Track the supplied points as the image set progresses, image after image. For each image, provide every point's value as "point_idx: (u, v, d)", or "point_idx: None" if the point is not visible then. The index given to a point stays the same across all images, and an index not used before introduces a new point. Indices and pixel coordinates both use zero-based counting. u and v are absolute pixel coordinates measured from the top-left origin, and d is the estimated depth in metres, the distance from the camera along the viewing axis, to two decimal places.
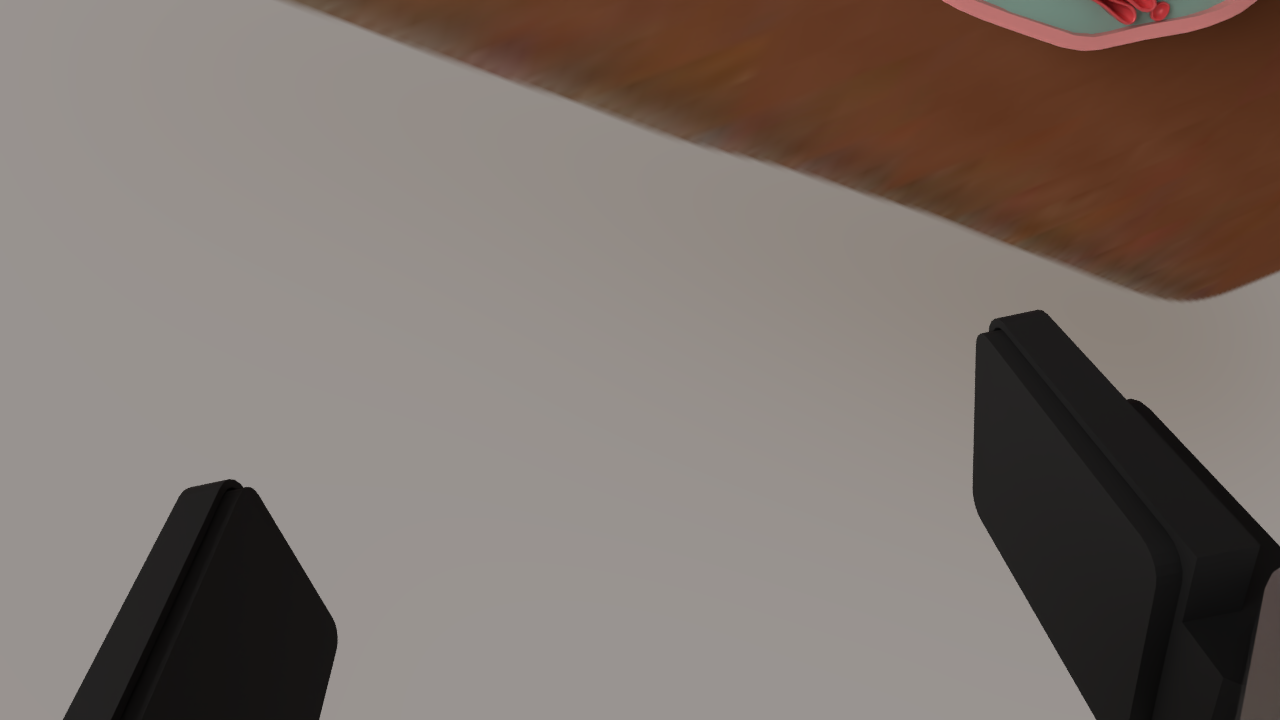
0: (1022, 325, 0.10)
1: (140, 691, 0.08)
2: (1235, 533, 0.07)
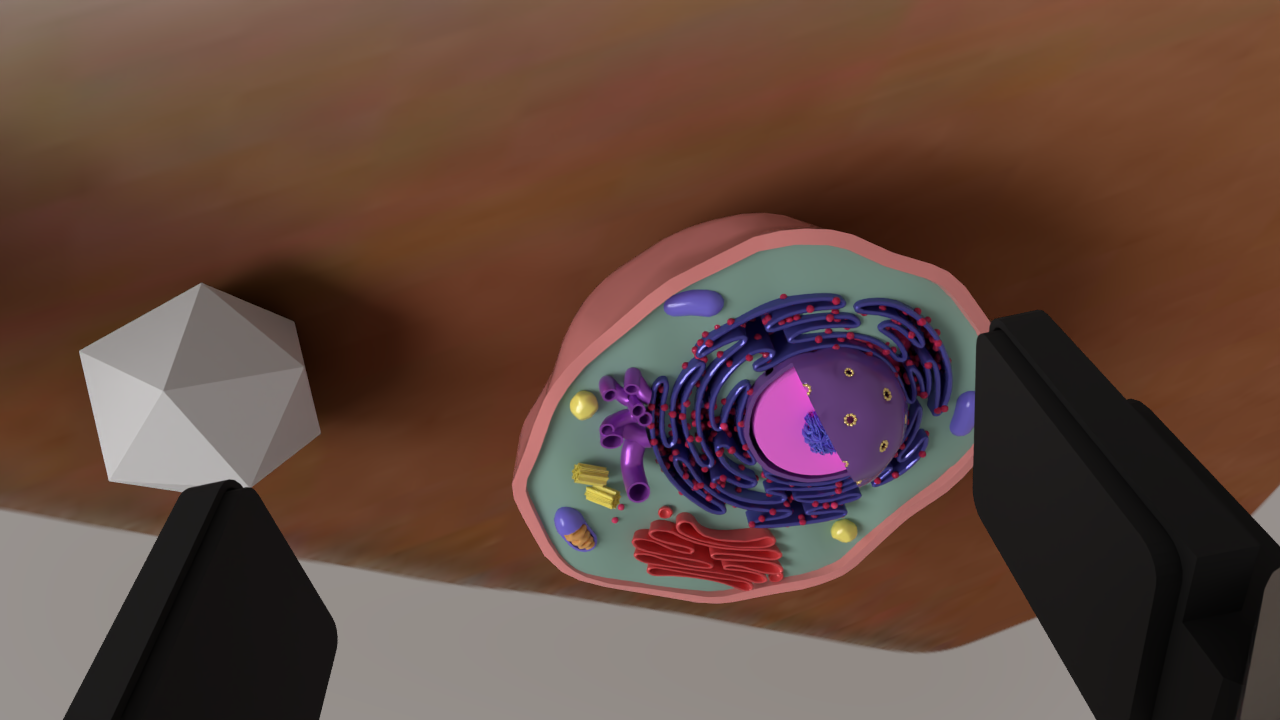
0: (1022, 325, 0.10)
1: (139, 691, 0.08)
2: (1235, 533, 0.07)
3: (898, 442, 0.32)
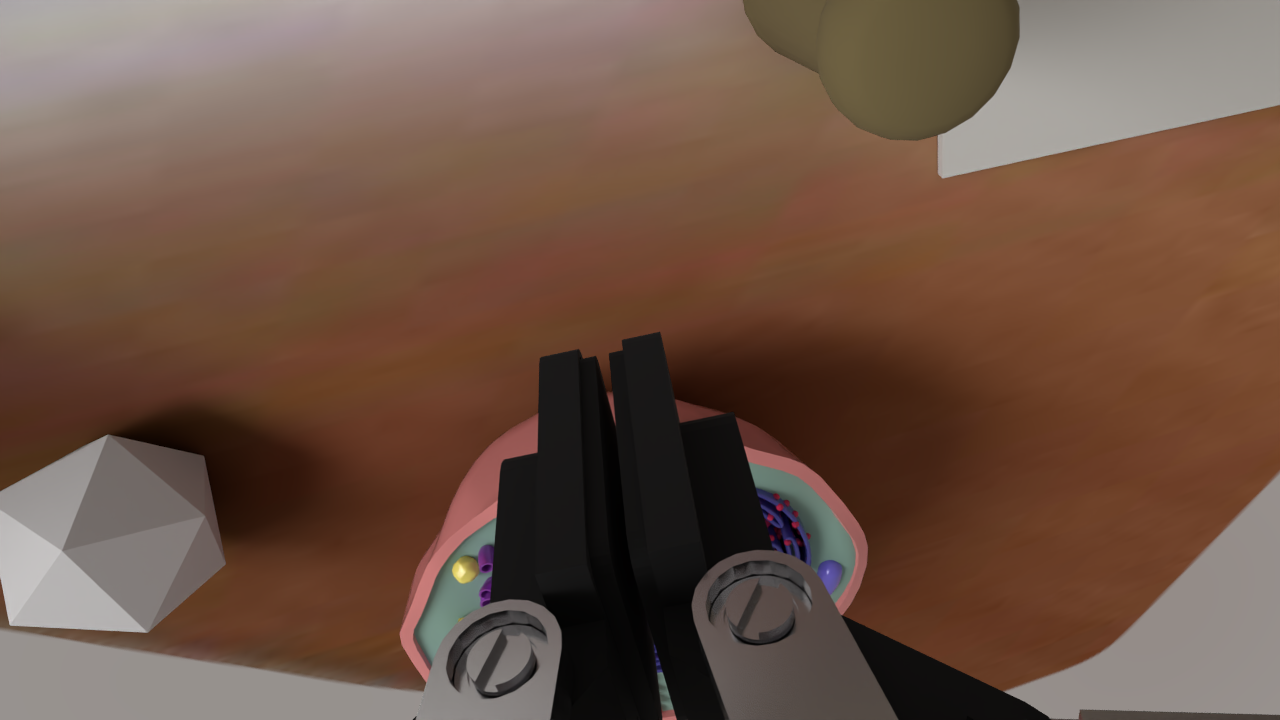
0: (635, 346, 0.11)
1: (593, 505, 0.09)
2: (688, 532, 0.08)
3: None
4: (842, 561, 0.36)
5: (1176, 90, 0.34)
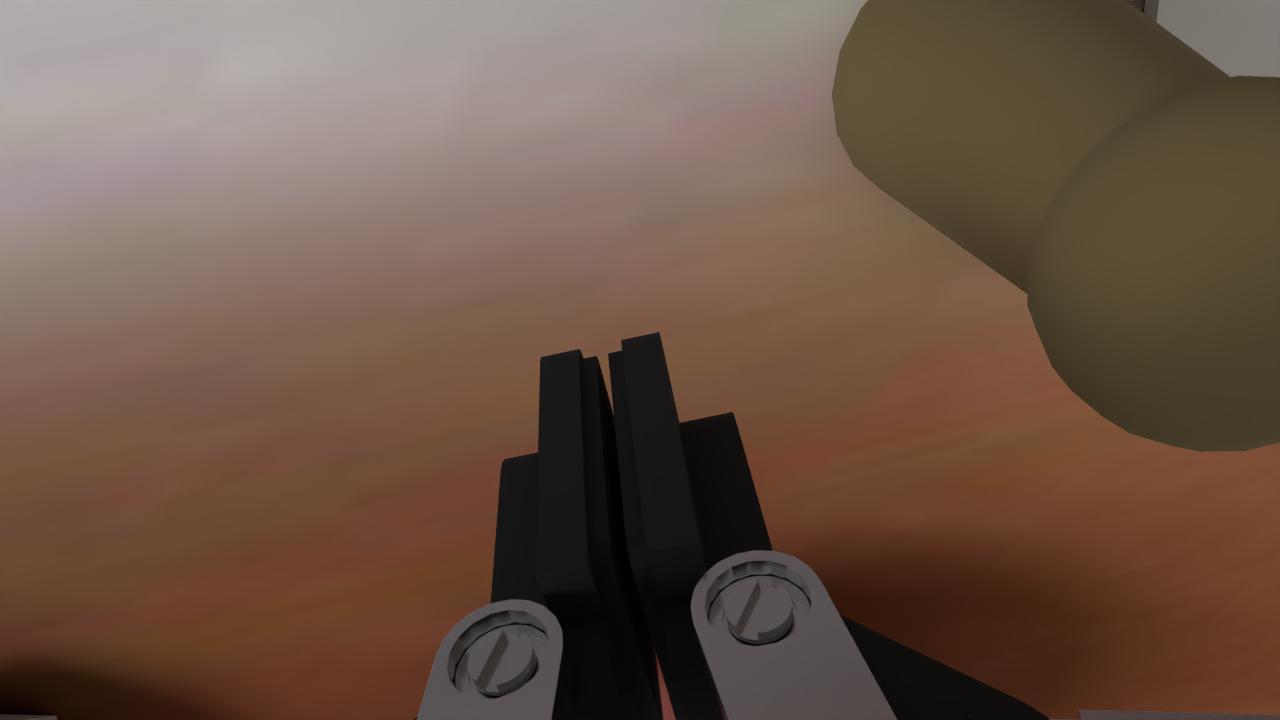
0: (635, 346, 0.11)
1: (594, 505, 0.09)
2: (687, 531, 0.08)
3: None
4: None
5: None
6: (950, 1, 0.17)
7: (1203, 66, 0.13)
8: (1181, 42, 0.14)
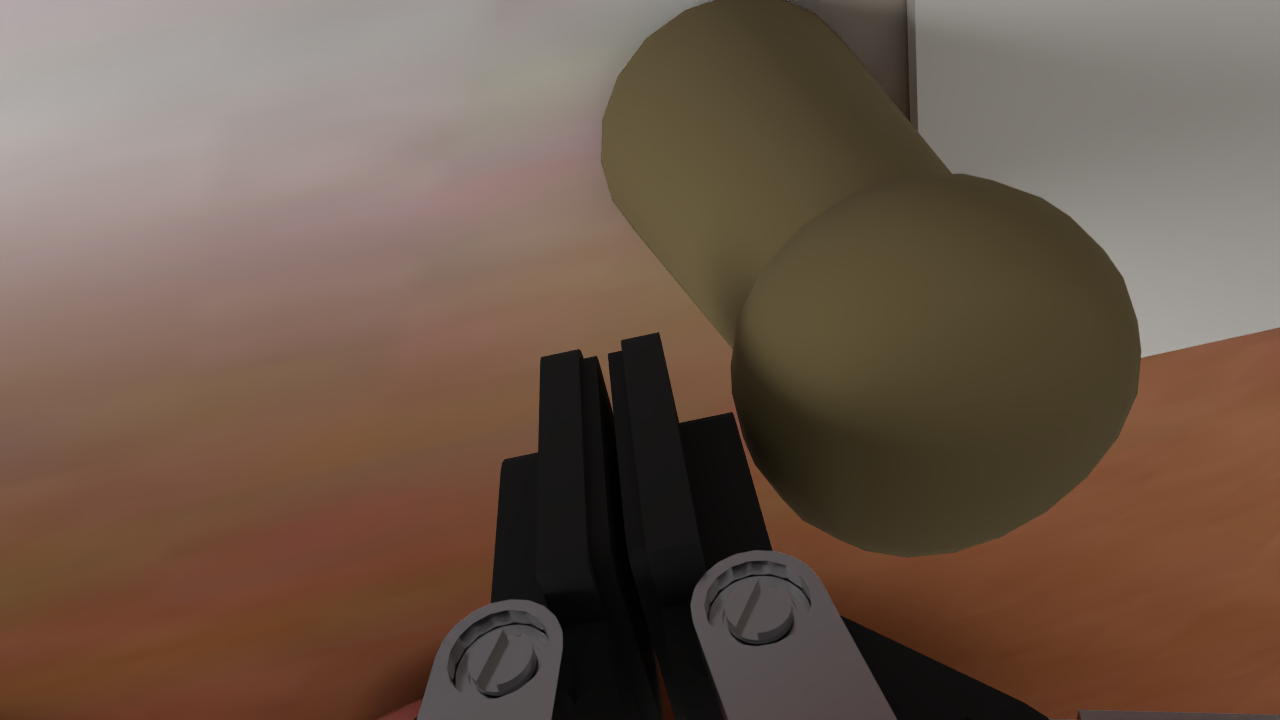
0: (634, 346, 0.11)
1: (594, 505, 0.09)
2: (686, 531, 0.08)
3: None
4: None
5: (1274, 282, 0.23)
6: (687, 74, 0.16)
7: (901, 152, 0.13)
8: (896, 120, 0.14)
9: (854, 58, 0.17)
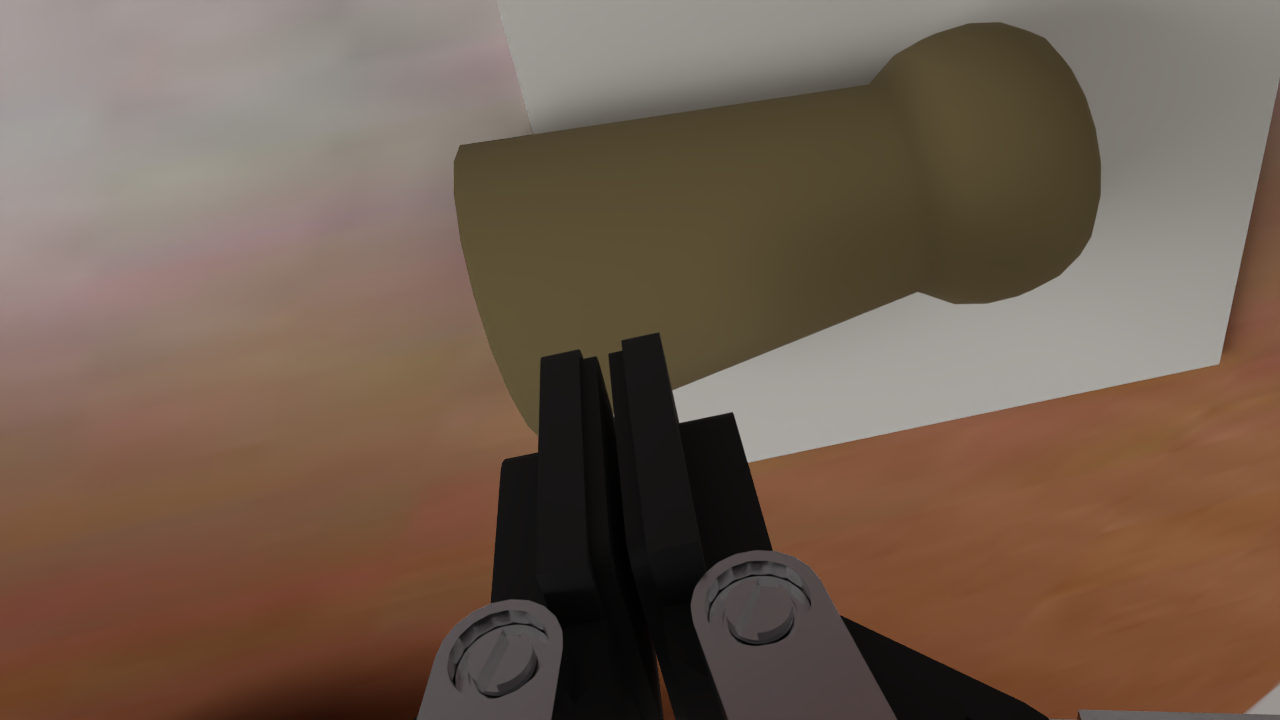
0: (635, 346, 0.11)
1: (594, 505, 0.09)
2: (686, 532, 0.08)
3: None
4: None
5: (964, 371, 0.23)
6: (593, 203, 0.15)
7: (823, 91, 0.16)
8: None
9: None
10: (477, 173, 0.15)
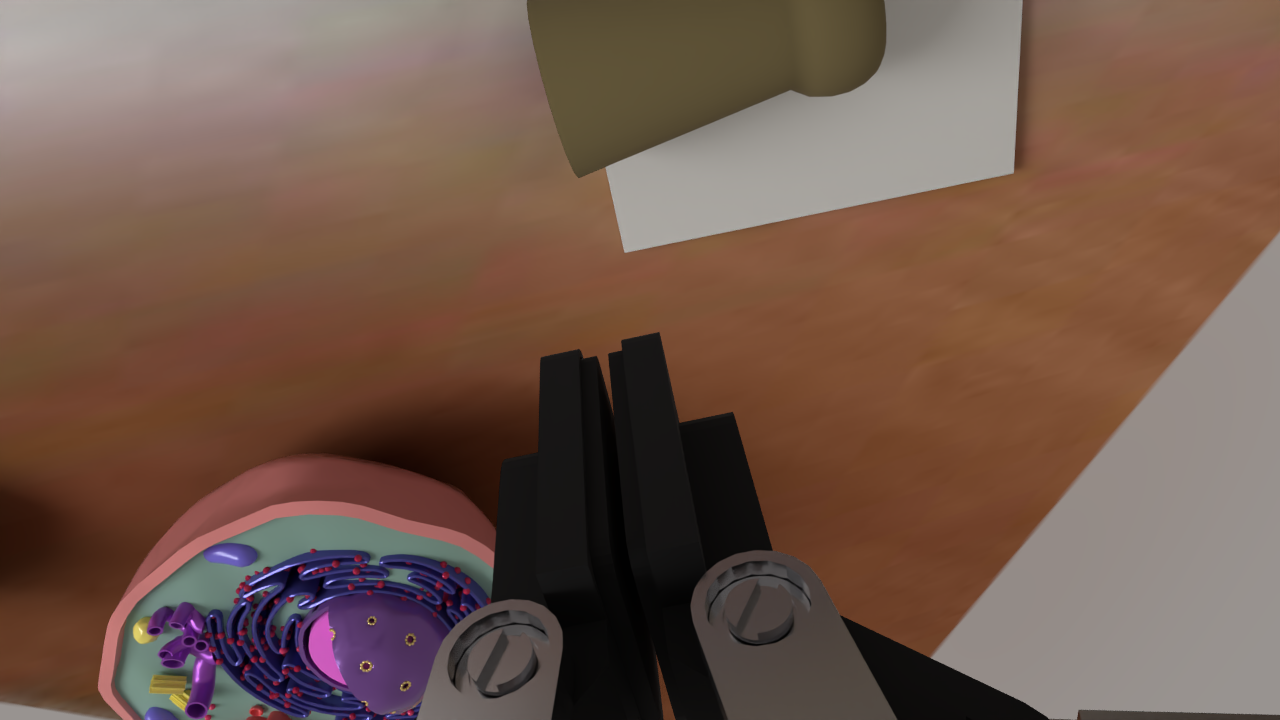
0: (634, 346, 0.11)
1: (594, 505, 0.09)
2: (686, 532, 0.08)
3: (424, 680, 0.35)
4: None
5: (843, 172, 0.35)
6: (605, 24, 0.27)
7: None
8: None
9: None
10: (540, 9, 0.27)
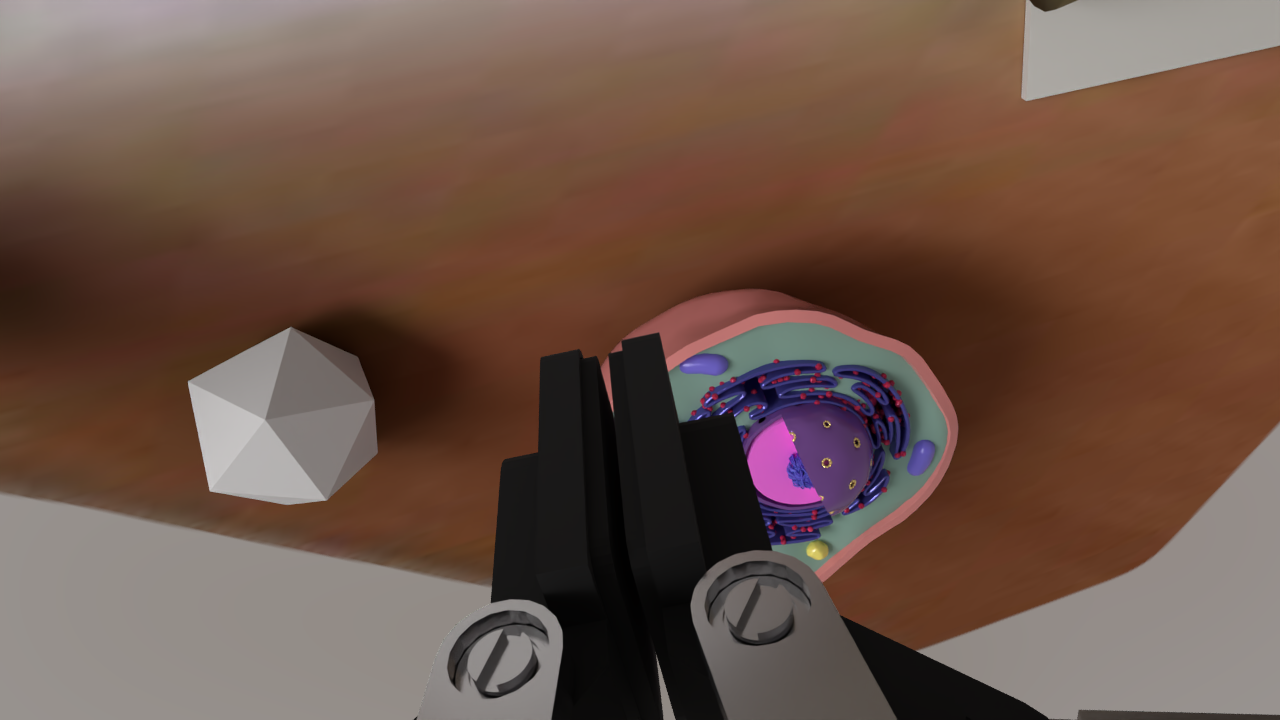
0: (635, 346, 0.11)
1: (594, 505, 0.09)
2: (687, 531, 0.08)
3: (864, 481, 0.39)
4: (935, 440, 0.41)
5: (1233, 21, 0.39)
6: None
7: None
8: None
9: None
10: None
